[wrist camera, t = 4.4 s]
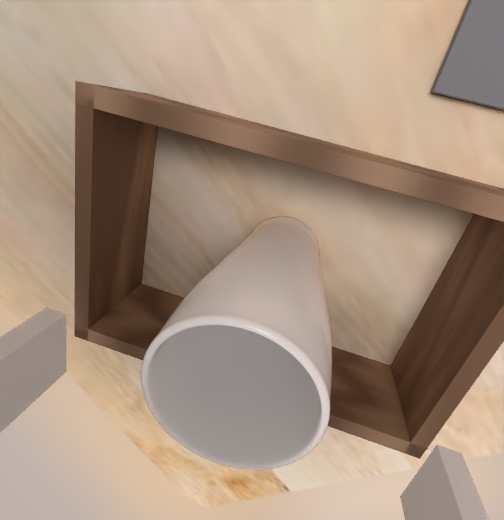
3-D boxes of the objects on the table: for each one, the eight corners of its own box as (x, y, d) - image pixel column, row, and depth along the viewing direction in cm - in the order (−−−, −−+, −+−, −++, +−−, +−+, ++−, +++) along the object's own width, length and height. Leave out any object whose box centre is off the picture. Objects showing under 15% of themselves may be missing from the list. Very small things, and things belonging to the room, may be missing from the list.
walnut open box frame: (129, 290, 29) (74, 336, 23) (147, 93, 22) (75, 81, 16) (397, 379, 27) (419, 458, 20) (506, 189, 20) (590, 219, 14)
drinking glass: (341, 276, 24) (358, 468, 11) (258, 298, 27) (186, 478, 13) (313, 191, 22) (291, 292, 9) (226, 221, 25) (102, 339, 11)
